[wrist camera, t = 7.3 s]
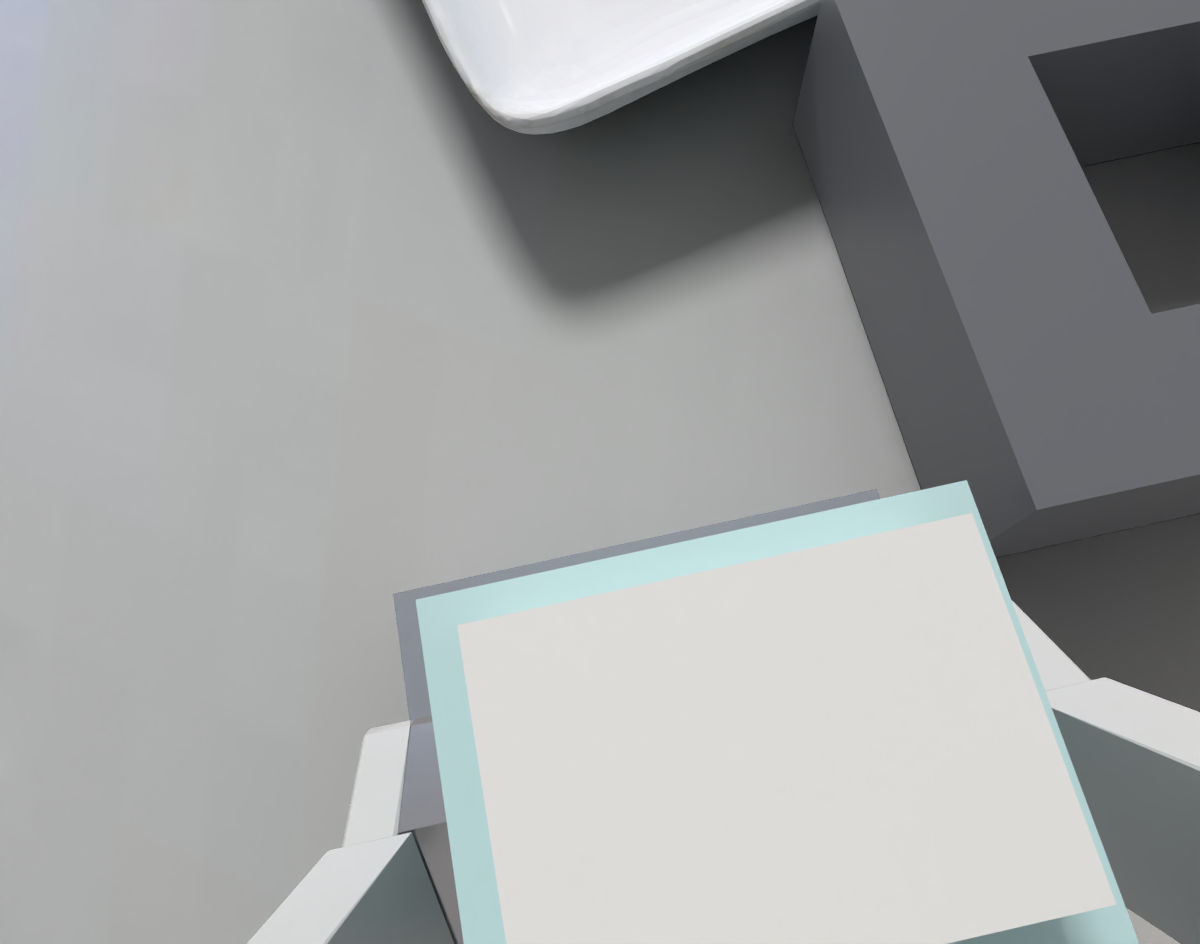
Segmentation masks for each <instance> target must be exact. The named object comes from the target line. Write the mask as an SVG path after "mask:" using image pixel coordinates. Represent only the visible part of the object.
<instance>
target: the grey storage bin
mask: <svg viewBox="0 0 1200 944" xmlns="http://www.w3.org/2000/svg"><path fill="white" fill-rule="evenodd" d="M877 499H880V498H879V495H878V492H877V489H875V490H871V491H866V492H861V493H857V494H852V495H848V496H843V497H838V498H834V499H829V500H824V501H820V502H815V503H811V504H806V505H801V506H797V507H792V508H788V509H783V510H778V511H774V512H769V513H764V514H760V515H755V516H751V517H746V518H741V519H737V520H732V521H728V522H723V523H718V524H714V525H709V526H704V527H700V528H695V529H691V530H686V531H681V532H677V533H672V534H668V535H663V536H658V537H654V538H649V539H644V540H640V541H635V542H631V543H626V544H621V545H617V546H612V547H607V548H603V549H598V550H594V551H589V552H584V553H580V554H575V555H571V556H566V557H561V558H557V559H552V560H547V561H543V562H538V563H534V564H529V565H524V566H520V567H515V568H511V569H506V570H501V571H497V572H492V573H487V574H483V575H478V576H474V577H469V578H464V579H460V580H455V581H451V582H446V583H441V584H437V585H432V586H427V587H423V588H418V589H414V590H409V591H404V592H400V593H395V594H393V596H394V604H395V611H396V619H397V627H398V634H399V642H400V649H401V657H402V664H403V672H404V680H405V687H406V695H407V702H408V710H409V718H410V720H415V719H416V718H421V717H426V716H432V714H431V707H430V699H429V692H428V685H427V678H426V671H425V664H424V657H423V650H422V642H421V635H420V628H419V621H418V614H417V607H416V599H421V598H426V597H430V596H435V595H439V594H444V593H449V592H453V591H458V590H462V589H467V588H472V587H476V586H481V585H485V584H490V583H495V582H499V581H504V580H509V579H513V578H518V577H522V576H527V575H532V574H536V573H541V572H545V571H550V570H555V569H559V568H564V567H568V566H573V565H578V564H582V563H587V562H592V561H596V560H601V559H605V558H610V557H615V556H619V555H624V554H628V553H633V552H638V551H642V550H647V549H651V548H656V547H661V546H665V545H670V544H674V543H679V542H684V541H688V540H693V539H698V538H702V537H707V536H711V535H716V534H721V533H725V532H730V531H734V530H739V529H744V528H748V527H753V526H757V525H762V524H767V523H771V522H776V521H781V520H785V519H790V518H794V517H799V516H804V515H808V514H813V513H817V512H822V511H827V510H831V509H836V508H840V507H845V506H850V505H854V504H859V503H863V502H868V501H873V500H877Z"/></svg>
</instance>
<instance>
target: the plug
mask: <svg viewBox="0 0 1200 944" xmlns="http://www.w3.org/2000/svg"><path fill="white" fill-rule="evenodd" d="M416 607H417V614H418V621H419V628H420V635H421V642H422V650H423V657H424V664H425V671H426V678H427V685H428V692H429V699H430V707H431V714H432V721H433V728H434V735H435V742H436V749H437V757H438V764H439V771H440V778H441V785H442V792H443V799H444V807H445V814H446V821H447V828H448V835H449V842H450V849H451V857H452V864H453V871H454V878H455V885H456V892H457V899H458V906H459V914H460V921H461V928H462V935H463V942H464V944H1137V943H1139V941H1138V939H1137V936H1136V933H1135V931H1134V928H1133V925H1132V923H1131V920H1130V917H1129V915H1128V912H1127V909H1126V907H1125V904H1124V901H1123V898H1122V896H1121V893H1120V890H1119V888H1118V885H1117V882H1116V880H1115V877H1114V874H1113V872H1112V869H1111V866H1110V864H1109V861H1108V858H1107V855H1106V853H1105V850H1104V847H1103V845H1102V842H1101V839H1100V837H1099V834H1098V831H1097V829H1096V826H1095V823H1094V821H1093V818H1092V815H1091V812H1090V810H1089V807H1088V804H1087V802H1086V799H1085V796H1084V794H1083V791H1082V788H1081V786H1080V783H1079V780H1078V778H1077V775H1076V772H1075V769H1074V767H1073V764H1072V761H1071V759H1070V756H1069V753H1068V751H1067V748H1066V745H1065V743H1064V740H1063V737H1062V735H1061V732H1060V729H1059V727H1058V724H1057V721H1056V718H1055V716H1054V713H1053V710H1052V708H1051V705H1050V702H1049V700H1048V697H1047V694H1046V692H1045V689H1044V686H1043V684H1042V681H1041V678H1040V675H1039V673H1038V670H1037V667H1036V665H1035V662H1034V659H1033V657H1032V654H1031V651H1030V649H1029V646H1028V643H1027V641H1026V638H1025V635H1024V632H1023V630H1022V627H1021V624H1020V622H1019V619H1018V616H1017V614H1016V611H1015V608H1014V606H1013V603H1012V600H1011V598H1010V595H1009V592H1008V590H1007V587H1006V584H1005V581H1004V579H1003V576H1002V573H1001V571H1000V568H999V565H998V563H997V560H996V557H995V555H994V552H993V549H992V547H991V544H990V541H989V538H988V536H987V533H986V530H985V528H984V525H983V522H982V520H981V517H980V514H979V512H978V509H977V506H976V504H975V501H974V498H973V495H972V493H971V490H970V487H969V485H968V482H967V480H965V481H960V482H956V483H951V484H946V485H942V486H937V487H933V488H928V489H923V490H919V491H914V492H910V493H905V494H900V495H896V496H891V497H887V498H882V499H877V500H873V501H868V502H863V503H859V504H854V505H850V506H845V507H840V508H836V509H831V510H827V511H822V512H817V513H813V514H808V515H804V516H799V517H794V518H790V519H785V520H781V521H776V522H771V523H767V524H762V525H757V526H753V527H748V528H744V529H739V530H734V531H730V532H725V533H721V534H716V535H711V536H707V537H702V538H698V539H693V540H688V541H684V542H679V543H674V544H670V545H665V546H661V547H656V548H651V549H647V550H642V551H638V552H633V553H628V554H624V555H619V556H615V557H610V558H605V559H601V560H596V561H592V562H587V563H582V564H578V565H573V566H568V567H564V568H559V569H555V570H550V571H545V572H541V573H536V574H532V575H527V576H522V577H518V578H513V579H509V580H504V581H499V582H495V583H490V584H485V585H481V586H476V587H472V588H467V589H462V590H458V591H453V592H449V593H444V594H439V595H435V596H430V597H426V598H421V599H416Z"/></svg>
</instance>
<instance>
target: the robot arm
mask: <svg viewBox="0 0 1200 944" xmlns="http://www.w3.org/2000/svg"><path fill="white" fill-rule="evenodd" d="M1012 603H1013V606H1014V608H1015V611H1016V614H1017V616H1018V619H1019V622H1020V624H1021V627H1022V630H1023V632H1024V635H1025V638H1026V641H1027V643H1028V646H1029V649H1030V651H1031V654H1032V657H1033V659H1034V662H1035V665H1036V667H1037V670H1038V673H1039V675H1040V678H1041V681H1042V684H1043V686H1044V689H1045V692H1046V694H1047V697H1048V700H1049V702H1050V705H1051V708H1052V710H1053V713H1054V716H1055V718H1056V721H1057V724H1058V727H1059V729H1060V732H1061V735H1062V737H1063V740H1064V743H1065V745H1066V748H1067V751H1068V753H1069V756H1070V759H1071V761H1072V764H1073V767H1074V769H1075V772H1076V775H1077V778H1078V780H1079V783H1080V786H1081V788H1082V791H1083V794H1084V796H1085V799H1086V802H1087V804H1088V807H1089V810H1090V812H1091V815H1092V818H1093V821H1094V823H1095V826H1096V829H1097V831H1098V834H1099V837H1100V839H1101V842H1102V845H1103V847H1104V850H1105V853H1106V855H1107V858H1108V861H1109V864H1110V866H1111V869H1112V872H1113V874H1114V877H1115V880H1116V882H1117V885H1118V888H1119V890H1120V893H1121V896H1122V898H1123V901H1124V904H1125V907H1127V908H1128V909H1130V910H1131V911H1133V912H1134V913H1136V914H1137V915H1139V916H1140V917H1142V918H1143V919H1145V920H1146V921H1148V922H1149V923H1151V924H1152V925H1154V926H1155V927H1157V928H1158V929H1160V930H1161V931H1163V932H1164V933H1166V934H1167V935H1169V936H1170V937H1172V938H1173V939H1175V940H1176V941H1178V942H1179V943H1181V944H1200V712H1198V711H1195V710H1192V709H1190V708H1187V707H1184V706H1182V705H1179V704H1176V703H1173V702H1171V701H1168V700H1165V699H1163V698H1160V697H1157V696H1155V695H1152V694H1149V693H1146V692H1144V691H1141V690H1138V689H1136V688H1133V687H1130V686H1127V685H1125V684H1122V683H1119V682H1117V681H1114V680H1111V679H1108V678H1106V677H1104V678H1099V679H1095V680H1091V679H1090V678H1089V677H1088V676H1087V675H1086V674H1085V673H1084V672H1083V671H1082V670H1081V669H1080V668H1079V667H1078V666H1077V665H1076V664H1075V663H1074V662H1073V661H1072V660H1071V659H1070V658H1069V657H1068V656H1067V655H1066V654H1065V653H1064V652H1063V651H1062V650H1061V649H1060V648H1059V647H1058V646H1057V645H1056V644H1055V643H1054V642H1053V641H1052V640H1051V639H1050V638H1049V637H1048V636H1047V635H1046V634H1045V633H1044V632H1043V631H1042V630H1041V629H1040V628H1039V627H1038V626H1037V625H1036V624H1035V623H1034V622H1033V621H1032V620H1031V619H1030V618H1029V617H1028V616H1027V615H1026V614H1025V613H1024V612H1023V611H1022V610H1021V609H1020V608H1019V607H1018V606H1017V605H1016V604H1015V603H1014V602H1013V601H1012ZM247 944H464V942H463V935H462V928H461V921H460V914H459V906H458V899H457V892H456V885H455V878H454V871H453V864H452V857H451V849H450V842H449V835H448V828H447V821H446V814H445V807H444V799H443V792H442V785H441V778H440V771H439V764H438V757H437V749H436V742H435V735H434V728H433V721H432V716H426V717H421V718H416V719H415V720H409V721H404V722H399V723H394V724H389V725H385V726H380V727H375V728H370V729H369V730H368V732H367V733H366V735H365V736H364V738H363V740H362V745H361V751H360V756H359V761H358V766H357V771H356V776H355V782H354V787H353V792H352V797H351V802H350V807H349V812H348V818H347V823H346V828H345V833H344V838H343V843H342V848H338V849H334V850H329V851H327V852H326V853H325V855H324V856H323V857H322V858H321V859H320V860H319V861H318V863H317V864H316V865H315V866H314V867H313V868H312V870H311V871H310V872H309V873H308V874H307V875H306V876H305V878H304V879H303V880H302V881H301V882H300V883H299V884H298V886H297V887H296V888H295V889H294V890H293V891H292V892H291V894H290V895H289V896H288V897H287V898H286V899H285V901H284V902H283V903H282V904H281V905H280V906H279V907H278V909H277V910H276V911H275V912H274V913H273V914H272V915H271V917H270V918H269V919H268V920H267V921H266V922H265V923H264V925H263V926H262V927H261V928H260V929H259V930H258V932H257V933H256V934H255V935H254V936H253V937H252V938H251V940H250V941H249V942H248V943H247Z"/></svg>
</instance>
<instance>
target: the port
mask: <svg viewBox="0 0 1200 944" xmlns="http://www.w3.org/2000/svg"><path fill="white" fill-rule="evenodd" d="M793 126H794V129H795V132H796V135H797V137H798V140H799V143H800V146H801V149H802V152H803V155H804V157H805V160H806V163H807V166H808V169H809V172H810V174H811V177H812V180H813V183H814V186H815V189H816V191H817V194H818V197H819V200H820V203H821V206H822V208H823V211H824V214H825V217H826V220H827V223H828V225H829V228H830V231H831V234H832V237H833V240H834V243H835V245H836V248H837V251H838V254H839V257H840V260H841V262H842V265H843V268H844V271H845V274H846V277H847V279H848V282H849V285H850V288H851V291H852V294H853V296H854V299H855V302H856V305H857V308H858V311H859V313H860V316H861V319H862V322H863V325H864V328H865V330H866V333H867V336H868V339H869V342H870V345H871V348H872V350H873V353H874V356H875V359H876V362H877V365H878V367H879V370H880V373H881V376H882V379H883V382H884V384H885V387H886V390H887V393H888V396H889V399H890V401H891V404H892V407H893V410H894V413H895V416H896V418H897V421H898V424H899V427H900V430H901V433H902V436H903V438H904V441H905V444H906V447H907V450H908V453H909V455H910V458H911V461H912V464H913V467H914V470H915V472H916V475H917V478H918V481H919V484H920V487H921V489H922V490H923V489H928V488H933V487H937V486H942V485H946V484H951V483H956V482H960V481H965V480H967V482H968V485H969V487H970V490H971V493H972V495H973V498H974V501H975V504H976V506H977V509H978V512H979V514H980V517H981V520H982V522H983V525H984V528H985V530H986V533H987V536H988V538H989V541H990V544H991V547H992V549H993V552H994V555H995V557H996V558H997V557H1002V556H1006V555H1011V554H1015V553H1020V552H1025V551H1029V550H1034V549H1038V548H1043V547H1047V546H1052V545H1056V544H1061V543H1066V542H1070V541H1075V540H1079V539H1084V538H1088V537H1093V536H1098V535H1102V534H1107V533H1111V532H1116V531H1120V530H1125V529H1129V528H1134V527H1139V526H1143V525H1148V524H1152V523H1157V522H1161V521H1166V520H1170V519H1175V518H1180V517H1184V516H1189V515H1193V514H1198V513H1200V304H1195V305H1190V306H1186V307H1181V308H1176V309H1172V310H1167V311H1162V312H1157V313H1153V314H1151V312H1150V310H1149V308H1148V306H1147V303H1146V301H1145V299H1144V297H1143V295H1142V293H1141V291H1140V289H1139V287H1138V285H1137V283H1136V281H1135V279H1134V276H1133V274H1132V272H1131V270H1130V268H1129V266H1128V264H1127V262H1126V260H1125V258H1124V256H1123V254H1122V251H1121V249H1120V247H1119V245H1118V243H1117V241H1116V239H1115V237H1114V235H1113V233H1112V231H1111V229H1110V226H1109V224H1108V222H1107V220H1106V218H1105V216H1104V214H1103V212H1102V210H1101V208H1100V206H1099V204H1098V201H1097V199H1096V197H1095V195H1094V193H1093V191H1092V189H1091V187H1090V185H1089V183H1088V181H1087V179H1086V176H1085V174H1084V172H1083V170H1082V168H1081V166H1086V165H1091V164H1096V163H1101V162H1105V161H1110V160H1115V159H1120V158H1124V157H1129V156H1134V155H1139V154H1144V153H1148V152H1153V151H1158V150H1163V149H1168V148H1172V147H1177V146H1182V145H1187V144H1192V143H1196V142H1200V0H821V4H820V8H819V12H818V17H817V21H816V25H815V30H814V34H813V38H812V43H811V47H810V51H809V56H808V60H807V64H806V69H805V73H804V77H803V82H802V86H801V90H800V95H799V99H798V103H797V108H796V112H795V116H794V121H793Z"/></svg>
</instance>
